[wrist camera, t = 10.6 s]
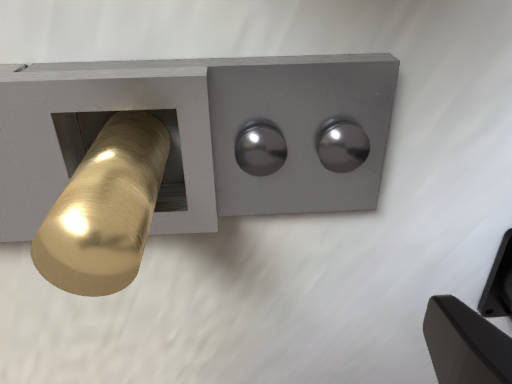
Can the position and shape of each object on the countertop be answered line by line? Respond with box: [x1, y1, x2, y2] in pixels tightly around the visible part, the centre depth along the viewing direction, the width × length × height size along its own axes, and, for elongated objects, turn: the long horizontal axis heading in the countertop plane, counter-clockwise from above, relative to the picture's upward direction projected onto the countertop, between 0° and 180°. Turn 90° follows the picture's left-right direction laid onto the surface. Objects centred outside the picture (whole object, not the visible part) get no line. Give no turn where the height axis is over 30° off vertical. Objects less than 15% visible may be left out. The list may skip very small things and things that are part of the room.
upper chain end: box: [0, 64, 218, 242], centre depth 17 cm, size 7×14×3 cm, turn 91°
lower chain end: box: [21, 53, 400, 217], centre depth 18 cm, size 7×14×2 cm, turn 91°
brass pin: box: [31, 110, 170, 297], centre depth 16 cm, size 3×3×8 cm
